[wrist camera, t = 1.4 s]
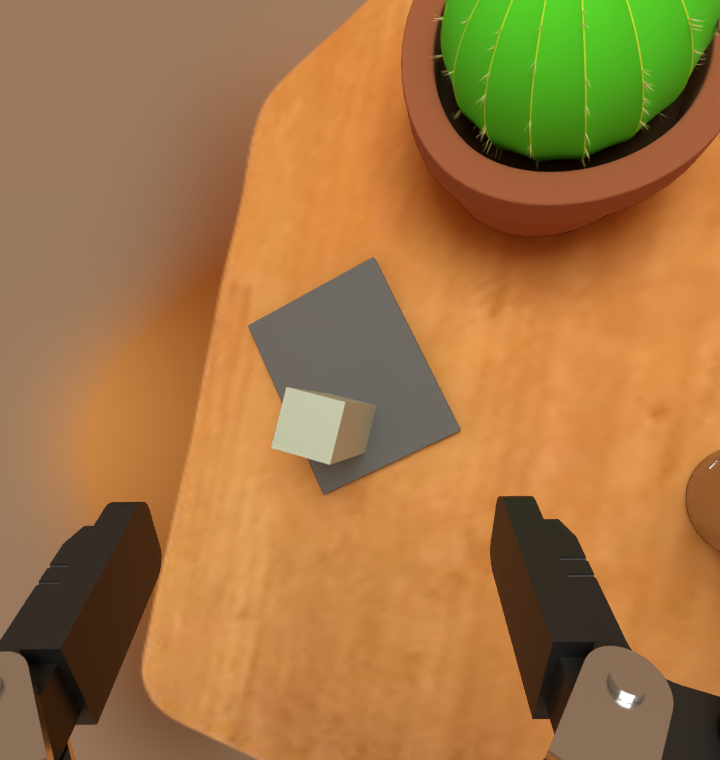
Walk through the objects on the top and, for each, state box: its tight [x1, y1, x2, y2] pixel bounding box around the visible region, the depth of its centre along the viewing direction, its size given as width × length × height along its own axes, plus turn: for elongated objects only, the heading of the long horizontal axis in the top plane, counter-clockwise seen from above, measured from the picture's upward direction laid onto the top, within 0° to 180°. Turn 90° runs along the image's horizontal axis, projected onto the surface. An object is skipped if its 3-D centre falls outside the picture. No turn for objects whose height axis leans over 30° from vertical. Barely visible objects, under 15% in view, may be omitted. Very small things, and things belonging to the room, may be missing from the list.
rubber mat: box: [248, 257, 461, 494], centre depth 49 cm, size 18×14×1 cm
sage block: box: [271, 387, 377, 465], centre depth 43 cm, size 4×4×12 cm
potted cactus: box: [401, 0, 720, 236], centre depth 35 cm, size 22×22×25 cm
